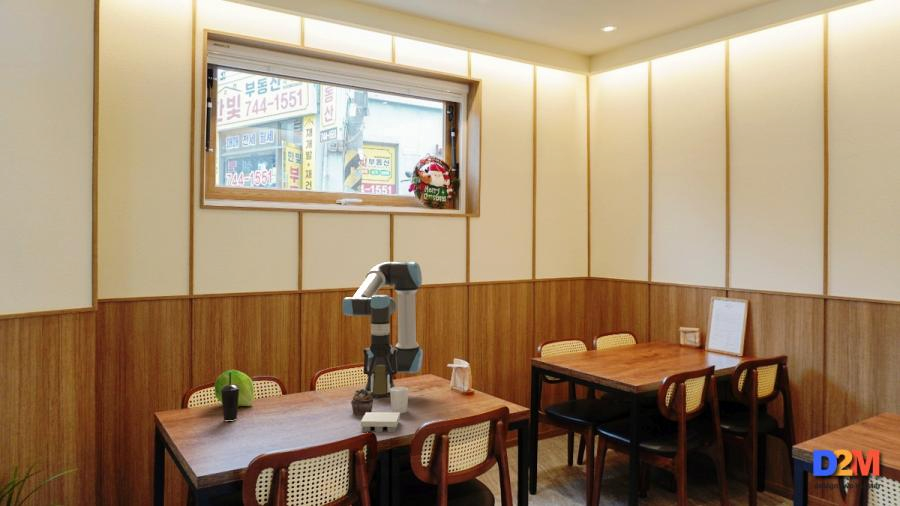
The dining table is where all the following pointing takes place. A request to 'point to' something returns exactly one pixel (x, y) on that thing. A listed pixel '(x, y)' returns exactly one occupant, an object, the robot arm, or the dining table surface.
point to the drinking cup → (230, 400)
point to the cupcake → (362, 402)
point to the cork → (380, 380)
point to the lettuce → (240, 380)
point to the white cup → (399, 399)
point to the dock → (380, 421)
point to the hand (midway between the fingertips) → (380, 391)
